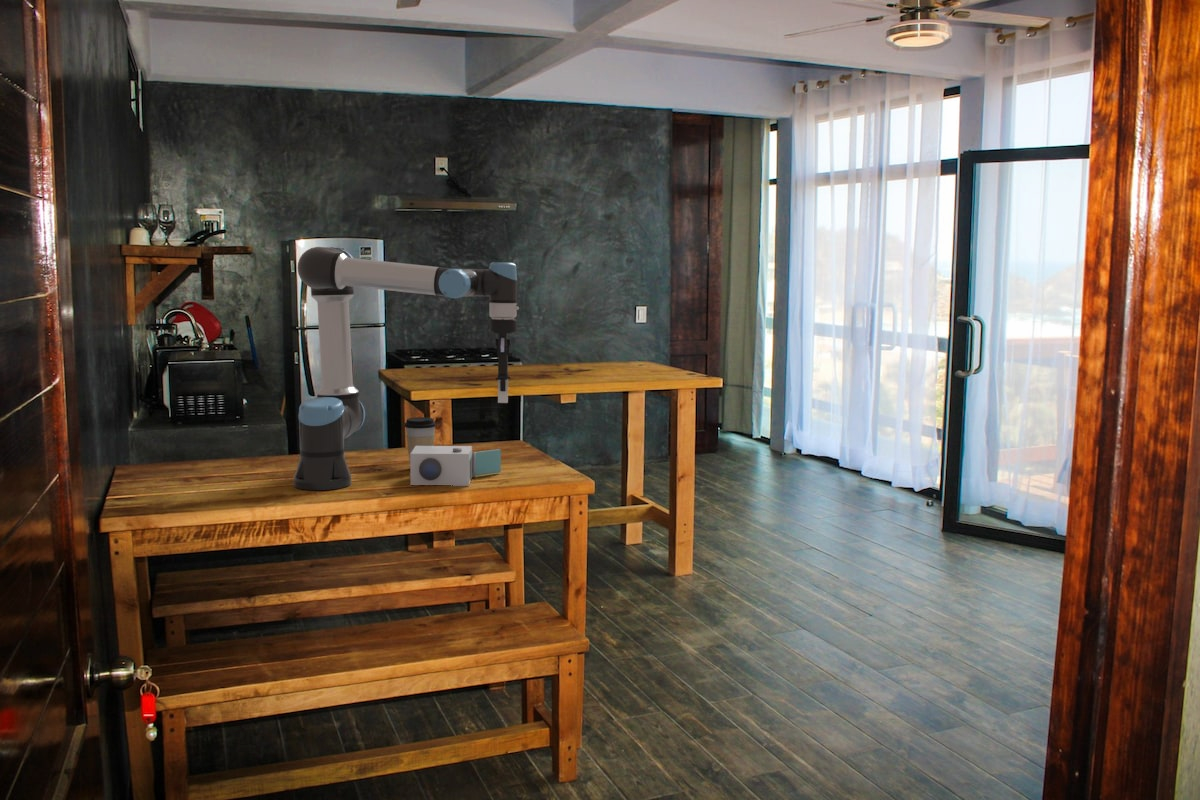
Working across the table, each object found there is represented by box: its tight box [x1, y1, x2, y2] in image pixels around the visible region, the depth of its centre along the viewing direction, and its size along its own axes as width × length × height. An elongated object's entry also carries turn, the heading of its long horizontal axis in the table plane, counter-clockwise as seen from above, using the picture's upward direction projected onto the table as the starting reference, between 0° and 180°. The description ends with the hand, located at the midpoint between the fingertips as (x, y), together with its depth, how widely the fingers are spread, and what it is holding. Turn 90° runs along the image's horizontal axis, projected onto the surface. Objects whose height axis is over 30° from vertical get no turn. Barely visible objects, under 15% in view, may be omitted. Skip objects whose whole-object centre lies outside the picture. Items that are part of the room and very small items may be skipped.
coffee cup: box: [403, 416, 437, 460], centre depth 293 cm, size 9×9×15 cm
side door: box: [472, 448, 502, 478], centre depth 285 cm, size 10×2×7 cm, turn 129°
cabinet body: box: [409, 445, 473, 487], centre depth 276 cm, size 16×13×10 cm
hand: (502, 402), depth 276 cm, fingers closed
